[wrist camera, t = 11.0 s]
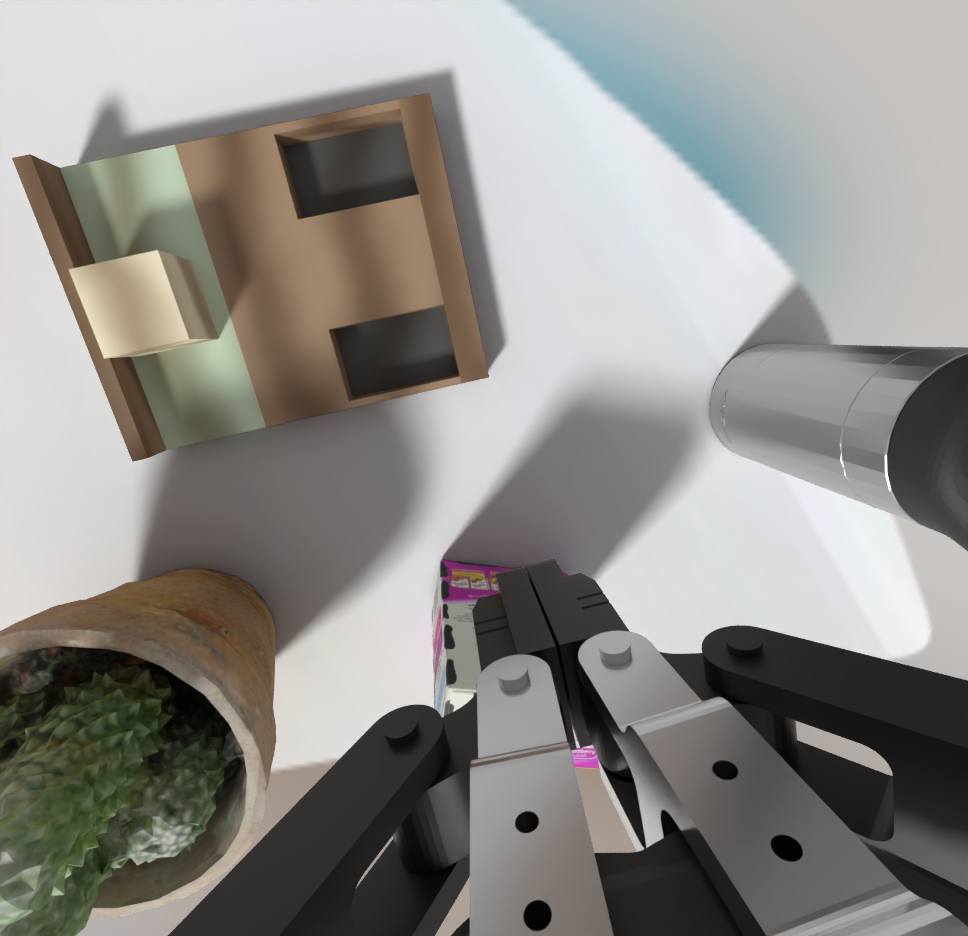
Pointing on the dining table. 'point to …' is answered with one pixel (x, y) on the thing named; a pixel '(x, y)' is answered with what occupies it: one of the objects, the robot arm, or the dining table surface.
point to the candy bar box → (467, 640)
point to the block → (144, 304)
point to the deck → (277, 269)
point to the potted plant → (131, 748)
